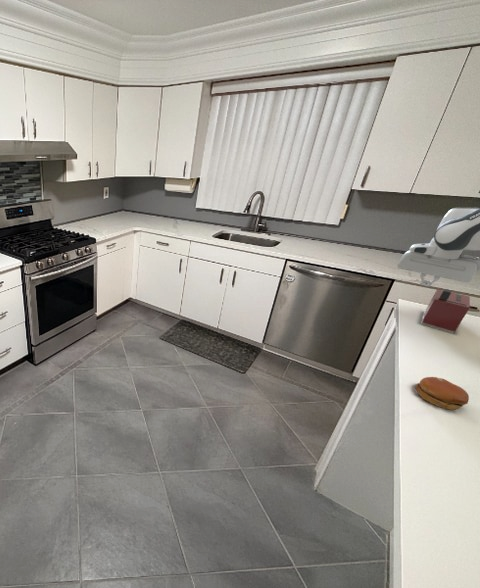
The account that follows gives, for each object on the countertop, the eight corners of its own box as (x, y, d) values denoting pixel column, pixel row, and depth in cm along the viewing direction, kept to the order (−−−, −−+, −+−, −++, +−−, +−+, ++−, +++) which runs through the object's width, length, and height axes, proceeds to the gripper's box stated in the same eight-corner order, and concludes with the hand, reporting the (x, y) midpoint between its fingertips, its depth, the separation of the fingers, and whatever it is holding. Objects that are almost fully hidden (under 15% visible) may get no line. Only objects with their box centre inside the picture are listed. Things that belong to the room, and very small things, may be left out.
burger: (433, 409, 81) (442, 395, 79) (405, 385, 90) (412, 372, 88) (475, 413, 80) (485, 399, 78) (442, 388, 89) (450, 375, 87)
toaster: (423, 312, 132) (437, 288, 127) (455, 320, 125) (470, 296, 121) (420, 323, 122) (434, 299, 118) (454, 333, 116) (470, 307, 112)
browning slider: (439, 296, 119) (443, 289, 117) (446, 298, 117) (451, 291, 116) (439, 298, 117) (443, 291, 116) (446, 300, 116) (451, 292, 115)
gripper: (486, 256, 109) (464, 291, 115) (407, 243, 123) (392, 275, 129) (486, 260, 105) (464, 296, 111) (405, 246, 119) (389, 279, 125)
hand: (424, 285), depth 120 cm, fingers closed
